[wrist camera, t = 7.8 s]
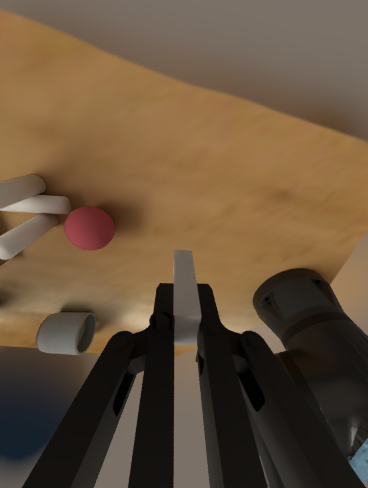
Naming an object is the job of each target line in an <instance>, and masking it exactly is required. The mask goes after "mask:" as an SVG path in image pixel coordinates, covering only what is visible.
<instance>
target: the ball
mask: <svg viewBox="0 0 368 488" xmlns="http://www.w3.org/2000/svg"><path fill="white" fill-rule="evenodd" d="M64 229H65V234H66V236H67V238H68V240H69V241H70V242H71V243H72V244H73V245H75V246H76V247H78V248H81V249H84V250H97V249H101V248H103V247H105V246H106V245H107V244H108V243H109V242H110V241H111V240H112V238H113V236H114V231H115V227H114V223H113V220H112V219H111V217H110V216H109V215H108V214H107V213H106V212H105V211H103V210H102V209H99V208H96V207H92V206H85V207H80V208H78V209H76V210H74V211H72V212H71V213H70V214H69V215H68V217H67V219H66V221H65V225H64Z"/></svg>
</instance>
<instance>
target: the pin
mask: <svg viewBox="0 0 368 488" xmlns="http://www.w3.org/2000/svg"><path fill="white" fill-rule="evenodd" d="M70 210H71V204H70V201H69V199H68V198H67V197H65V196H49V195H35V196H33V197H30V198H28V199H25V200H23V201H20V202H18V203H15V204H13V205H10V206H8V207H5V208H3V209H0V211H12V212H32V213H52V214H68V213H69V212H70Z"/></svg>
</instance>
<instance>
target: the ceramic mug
mask: <svg viewBox="0 0 368 488" xmlns="http://www.w3.org/2000/svg"><path fill="white" fill-rule="evenodd" d="M95 329H96V317H95V314H94V313H92V312H60V313H54V314H52V315H50V316H48V317H47V318H46V319H45V320H44V321H43V322H42V324H41V325H40V327H39V329H38V332H37V335H36V346H37V348H38V349H39V350H40V351H43V352H46V353H59V354H71V355H81V354H83V353H85V352H86V351H87V349H88V348H89V346H90V344H91V342H92V340H93V337H94V334H95Z"/></svg>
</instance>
